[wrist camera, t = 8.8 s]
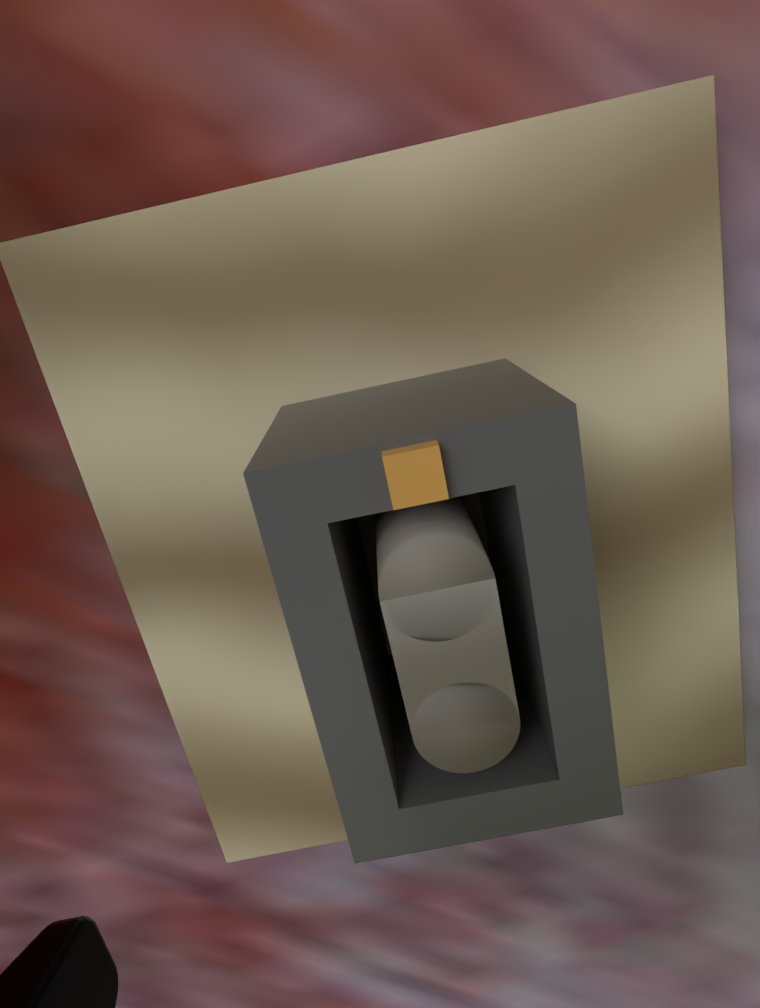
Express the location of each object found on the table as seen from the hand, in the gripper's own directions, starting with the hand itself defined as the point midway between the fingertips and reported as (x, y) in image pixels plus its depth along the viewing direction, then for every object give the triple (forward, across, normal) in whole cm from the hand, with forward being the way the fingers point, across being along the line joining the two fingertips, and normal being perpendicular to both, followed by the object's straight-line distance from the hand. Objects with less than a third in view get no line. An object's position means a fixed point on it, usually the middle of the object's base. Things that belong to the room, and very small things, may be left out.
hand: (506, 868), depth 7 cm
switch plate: (+10, 0, 0) cm, 10 cm away
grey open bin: (+9, 0, 0) cm, 9 cm away
